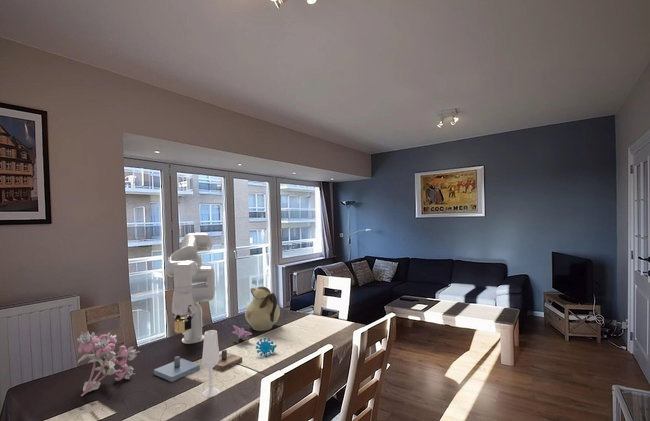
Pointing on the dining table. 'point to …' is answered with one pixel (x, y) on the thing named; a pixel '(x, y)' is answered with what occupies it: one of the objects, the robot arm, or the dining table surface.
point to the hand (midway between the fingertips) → (183, 327)
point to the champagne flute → (210, 359)
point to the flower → (107, 348)
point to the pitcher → (262, 309)
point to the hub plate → (176, 369)
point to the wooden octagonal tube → (180, 325)
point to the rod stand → (227, 361)
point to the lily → (241, 333)
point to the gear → (265, 347)
